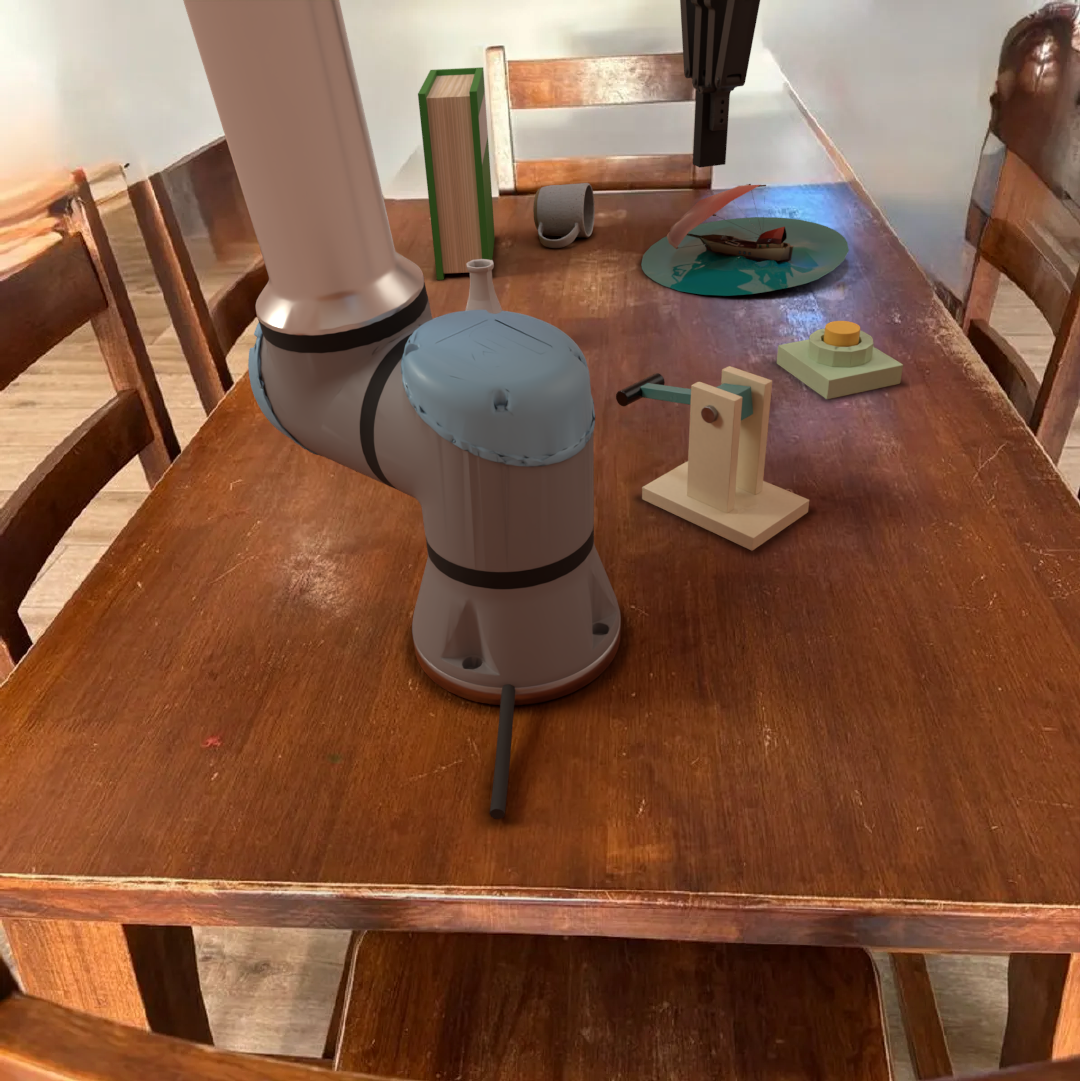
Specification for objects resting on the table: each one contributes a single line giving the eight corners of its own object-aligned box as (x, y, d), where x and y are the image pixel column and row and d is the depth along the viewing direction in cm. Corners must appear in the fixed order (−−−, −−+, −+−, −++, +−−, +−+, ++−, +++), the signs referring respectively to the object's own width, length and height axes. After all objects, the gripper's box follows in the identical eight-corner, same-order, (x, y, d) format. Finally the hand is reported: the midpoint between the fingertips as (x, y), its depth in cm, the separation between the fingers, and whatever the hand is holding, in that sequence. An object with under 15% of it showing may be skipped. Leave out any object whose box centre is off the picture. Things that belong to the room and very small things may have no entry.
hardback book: (490, 277, 140) (476, 91, 127) (436, 279, 140) (417, 93, 127) (494, 238, 155) (483, 67, 141) (446, 240, 155) (430, 69, 141)
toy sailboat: (690, 223, 156) (687, 149, 150) (873, 234, 143) (878, 153, 136) (607, 295, 138) (599, 214, 131) (808, 316, 125) (810, 227, 118)
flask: (509, 359, 117) (503, 274, 111) (448, 356, 118) (440, 273, 112) (522, 334, 123) (517, 253, 117) (464, 332, 124) (457, 252, 118)
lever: (617, 410, 90) (613, 385, 89) (654, 392, 93) (651, 367, 91) (726, 429, 81) (723, 401, 80) (764, 408, 84) (761, 380, 83)
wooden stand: (641, 499, 90) (643, 377, 83) (698, 466, 94) (704, 348, 88) (752, 551, 83) (763, 422, 76) (808, 512, 87) (823, 387, 81)
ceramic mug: (544, 226, 158) (542, 176, 154) (596, 228, 156) (594, 177, 152) (527, 249, 150) (524, 196, 145) (581, 251, 148) (579, 198, 143)
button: (865, 345, 107) (867, 330, 106) (835, 351, 106) (837, 335, 105) (845, 333, 110) (847, 318, 109) (816, 339, 109) (818, 324, 108)
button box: (900, 383, 107) (906, 348, 105) (826, 399, 105) (831, 364, 102) (845, 349, 115) (850, 316, 113) (776, 363, 113) (779, 329, 110)
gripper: (807, -137, 79) (778, 175, 92) (729, -134, 89) (713, 146, 102) (720, -134, 77) (704, 184, 90) (651, -131, 87) (645, 154, 100)
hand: (708, 164), depth 96 cm, fingers closed
